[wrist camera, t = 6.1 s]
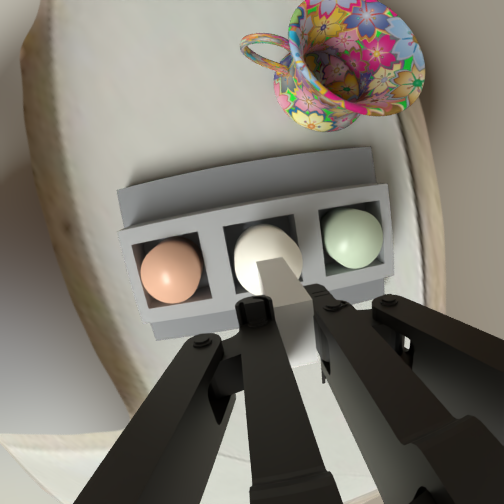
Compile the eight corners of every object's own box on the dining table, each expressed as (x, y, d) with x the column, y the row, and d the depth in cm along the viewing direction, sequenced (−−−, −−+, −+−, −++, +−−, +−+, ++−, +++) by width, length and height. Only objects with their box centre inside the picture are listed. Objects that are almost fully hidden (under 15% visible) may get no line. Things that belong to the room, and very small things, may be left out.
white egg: (229, 229, 22) (228, 237, 19) (287, 218, 22) (297, 225, 19) (239, 285, 23) (241, 302, 20) (295, 274, 24) (306, 290, 20)
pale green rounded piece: (313, 210, 25) (326, 215, 21) (361, 203, 25) (380, 206, 21) (320, 261, 26) (333, 273, 22) (366, 252, 26) (384, 262, 22)
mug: (363, 58, 24) (419, 14, 13) (362, 144, 26) (428, 130, 15) (241, 38, 23) (247, -28, 12) (233, 129, 25) (234, 95, 14)
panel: (124, 189, 25) (102, 191, 20) (361, 148, 26) (387, 143, 21) (160, 331, 28) (148, 357, 24) (375, 289, 29) (399, 307, 24)
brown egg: (146, 241, 24) (134, 251, 21) (197, 231, 24) (192, 239, 21) (159, 291, 25) (149, 307, 22) (208, 282, 25) (205, 298, 22)
